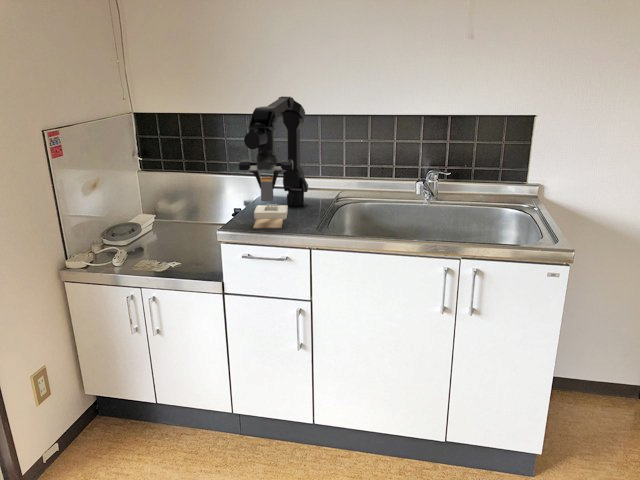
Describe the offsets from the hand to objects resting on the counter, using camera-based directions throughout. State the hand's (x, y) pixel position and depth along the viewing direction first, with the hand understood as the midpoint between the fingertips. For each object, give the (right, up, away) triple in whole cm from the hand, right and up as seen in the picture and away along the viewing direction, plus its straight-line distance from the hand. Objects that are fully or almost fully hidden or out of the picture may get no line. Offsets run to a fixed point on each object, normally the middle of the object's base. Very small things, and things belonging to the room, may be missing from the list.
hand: (267, 188), depth 192 cm
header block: (0, -9, +15) cm, 17 cm away
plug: (0, -4, +1) cm, 4 cm away
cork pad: (0, -12, +4) cm, 13 cm away
